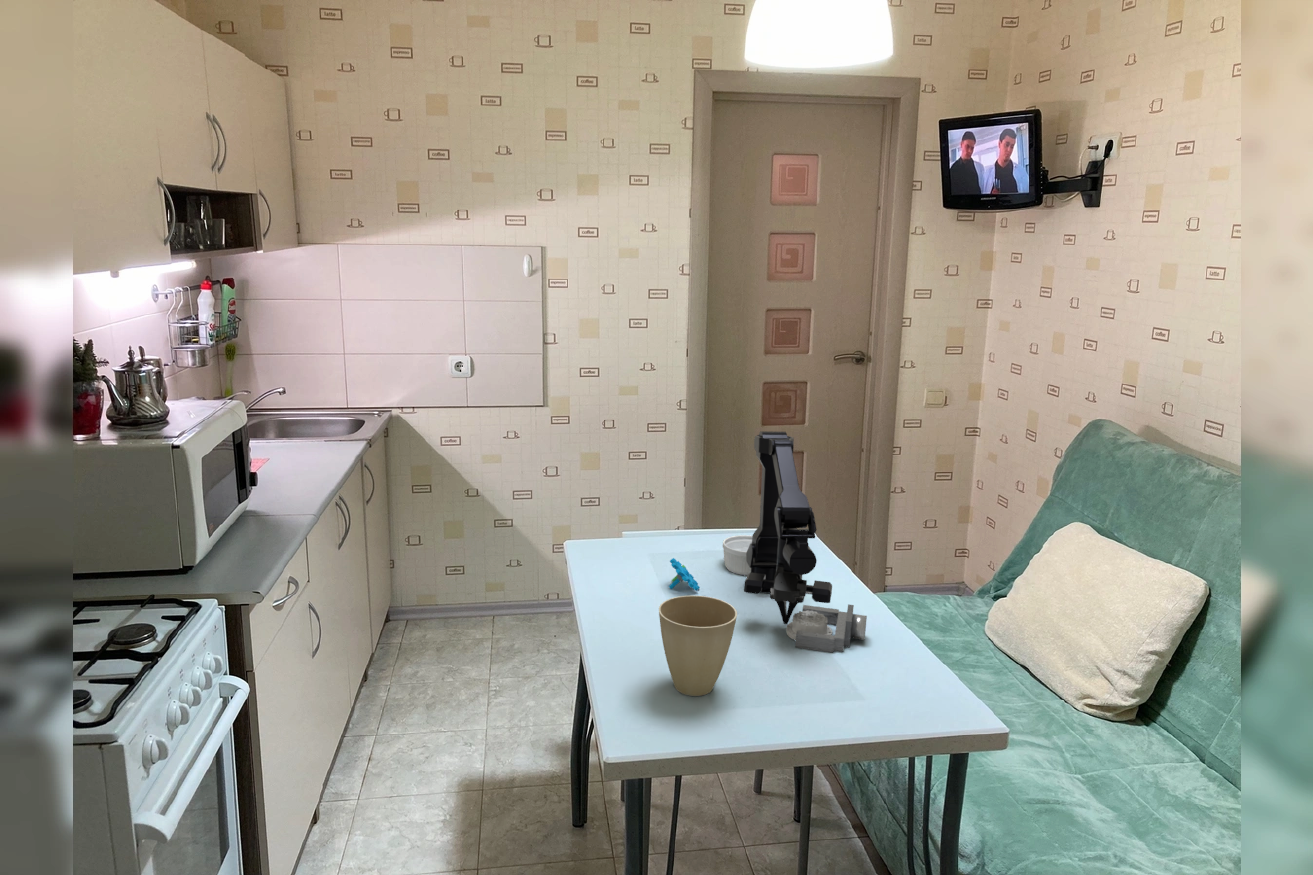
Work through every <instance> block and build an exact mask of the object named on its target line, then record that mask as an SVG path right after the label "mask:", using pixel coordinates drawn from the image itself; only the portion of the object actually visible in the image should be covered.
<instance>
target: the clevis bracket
mask: <svg viewBox="0 0 1313 875" xmlns="http://www.w3.org/2000/svg"><path fill="white" fill-rule="evenodd" d="M801 610H802V611H801V612H803V611H807V610H808V611H813V612H815V611H816V612H817V613H819V614H824V616H825V617H827V620H828V622H827V625H832V626H835V633H834V635H833V634H832V635H827V634H819V633H812V632H805V631H797V633H796V641H795V646H794V648H796V649H803V650H810V651H816V652H817V651H818V652H823V653H824V652H825V653H826V652H827V653H834V652H841V653H843V652H844V648H850V646H851V639H854V640H862V641H865V639H866V627H867V620H868V619H867V617H868V616H867V615H864V614H855V613H854V604H847V611H840V609H838V608H830V607H824V606H823V607H822V606H814V605H809V604H803V605H802V609H801Z"/></svg>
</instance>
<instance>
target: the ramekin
mask: <svg viewBox="0 0 1313 875" xmlns="http://www.w3.org/2000/svg"><path fill="white" fill-rule="evenodd" d="M752 536H753V535H750V534H749V535H748V534H741V535H732V536H729V537H727V538H725V539H724V540H723V541H722V548H723V559H724V565H725V567H726V568H727V569H728V571H729V572H731V573H733V574H737V575H740V576H747V575H748V574H749V573H750V572H751V568H750V567H749V565H748V563H747V561H746V553H747V550H748V548H749V546H750V544H751V543H752Z"/></svg>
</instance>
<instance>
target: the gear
mask: <svg viewBox="0 0 1313 875" xmlns="http://www.w3.org/2000/svg"><path fill="white" fill-rule="evenodd" d="M669 562H670V563H671V564H670V566H671V567H672V568H673V569H675V573H676V575H675V576H674V577H673V578H672V579H671V581H672V583H671V584H669V585H668V588H669V589H670V590H673V589H674V588H675V587H676V586H677V585H678V584H679V583H682V582H685V583H687V584H688V587H690V588H691V589H693V590H694V591H695V592H697V591H698V590H699V589H700V588H701V586H699V582H698V581H697V580H695V579H694V578H695V577H694V575H692V574H691V573H690V571H689V570H688V569H687V567H686V566H685V565H684V564H682V563H681V562H680V561H679V560H678V561H677V559H676V558H674V557H673V558H671V559H670V560H669Z"/></svg>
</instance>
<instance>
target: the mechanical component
mask: <svg viewBox="0 0 1313 875" xmlns="http://www.w3.org/2000/svg"><path fill="white" fill-rule="evenodd" d="M827 622H828V620H827V617H825V616H824V614H819V613H817V612H816V611H815V612H813V611H808V610H807V611H803V612H802V611H801V610H799V611H798V612H795V613H793V616H792V621H791V622H790V621H789V622H788V624H786V635H787V636H788V637H789V638H790V639H792V640H793V639H794V641H795V640H796V633H797V631H805V632H812V633H819V634H827V635H833V630H832V628H831V627H830V626H829V625H828V624H827Z"/></svg>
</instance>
